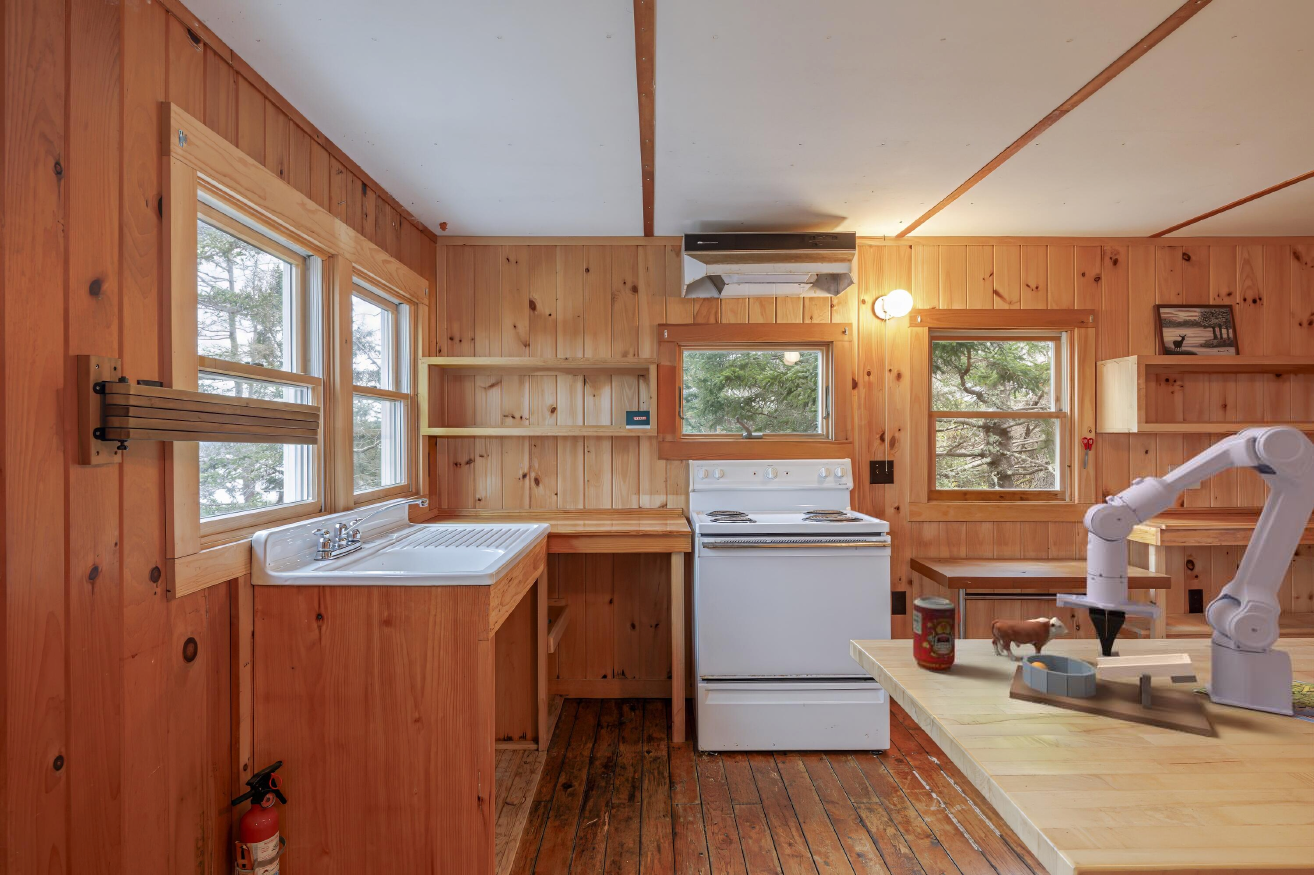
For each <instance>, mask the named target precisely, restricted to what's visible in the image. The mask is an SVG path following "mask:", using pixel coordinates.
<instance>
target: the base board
mask: <svg viewBox="0 0 1314 875" xmlns="http://www.w3.org/2000/svg"><path fill="white" fill-rule="evenodd" d="M1138 680H1139V683H1138V684H1133V683H1128V682H1127V683H1126V682H1121V681H1116V680H1110V679H1100V677H1099V678H1097V677H1096V695H1093V696H1090V697H1086V698H1076V697H1063V696H1058V695H1053V694H1048V693H1045V692H1042V691H1039V690H1036V689H1033V688H1031V687H1029V686H1028V685H1027V684H1025V683H1024V682H1023V664H1022V665H1021V664H1017V666H1016V670H1015V672H1014V675H1013V679H1012V681H1011V682H1012V683H1011V685H1010V689H1009V698H1010V697H1011V699H1014V698H1015V700H1020V701H1025V700H1027V702H1030V701H1032V702H1031V703H1035V702H1036V704H1040V703H1044V704H1043V705H1045V704H1048V705H1047V706H1050V705H1052V706H1051V707H1055V706H1056V707H1055V708H1060V707H1062V708H1061V709H1066V710H1071V711H1076V710H1077V711H1076V712H1080V713H1081V712H1082V713H1086V714H1093V715H1097V716H1101V717H1106V718H1113V719H1117V720H1121V721H1127V722H1133V723H1137V724H1138V723H1139V724H1144V725H1147V726H1152V727H1157V728H1158V727H1159V728H1164V729H1167V728H1170V729H1169V730H1173V729H1174V731H1178V730H1180V732H1183V731H1184V733H1188V732H1190V733H1189V734H1193V733H1194V734H1193V735H1198V734H1199V736H1203V735H1207V736H1206V737H1208V736H1210V737H1209V738H1211V737H1212V728H1211V726H1210V724H1209V721H1208V719H1207V717H1206V714H1205V712H1204V710H1203V708H1202V706H1201V703H1200V701H1199V698H1198V696H1197V695H1196V694H1191V693H1186V692H1181V691H1173V690H1169V689H1162V688H1157V687H1152V677H1151V675H1147V674H1142V677H1139V679H1138Z"/></svg>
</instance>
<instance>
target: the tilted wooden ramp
mask: <svg viewBox="0 0 1314 875" xmlns="http://www.w3.org/2000/svg"><path fill="white" fill-rule="evenodd" d="M1096 662H1097V666H1096V669H1097V672H1098V675H1099V679H1104V680H1107V679H1129V678H1130V679H1131V678H1140V677H1142V674H1147V675H1151V678H1155V677H1156V678H1157V677H1159V678H1160V677H1170V680H1171V683H1172V684H1188V683H1189V684H1190V683H1191V684H1192V683H1198V679H1197V675H1196V672H1195V669H1194V666H1193V663H1192V660H1191V658H1190V656H1189V653H1172V654H1171V653H1169V654H1168V653H1167V654H1150V655H1148V654H1147V655H1129V656H1127V655H1126V656H1120V653H1119V651H1118V650H1117V651H1115V650H1114V651H1112V650H1111V656H1104V655H1102V651H1098V652H1097V657H1096Z"/></svg>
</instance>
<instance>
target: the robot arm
mask: <svg viewBox="0 0 1314 875" xmlns="http://www.w3.org/2000/svg"><path fill="white" fill-rule="evenodd" d="M1242 467H1243V468H1244V467H1250V468H1251V469H1252V470H1254V471H1255V472H1258V475H1260V477H1261V479H1263V481H1264V482H1265V483H1266V484H1267V485H1268V487H1269V488H1270V491H1269V494H1268V497H1267V500H1266V502H1265V504H1264V507H1263V508H1262V512H1261V514H1260V516H1259V518H1258V521H1257V522H1256V523H1257V524H1256V526H1255V528H1254V530H1253V533H1252V535H1251V538H1250V540H1249V543H1248V545H1247V547H1246V550H1245V552H1244V555H1243V557H1242V559H1241V562H1240V564H1239V567H1238V569H1237V571H1236V574H1235V576H1234V577H1233V578H1234V579H1232V581H1230V582H1228V583H1227V584H1226V585H1225V586H1223V587H1222V589H1221V592H1220V594H1218V596H1217V597H1216V598H1215V599H1213V600H1212V601H1210V602H1209V603H1208V605H1207V606H1206V608H1205V620H1206V622H1207V623H1208V624H1209V626H1210V627H1211V628H1212V629H1213V630H1214V631H1213V633H1212V635H1211V636H1210V637H1211V638H1210V639H1211V641H1210V642H1211V643H1210V644H1211V645H1210V646H1211V647H1210V648H1211V650H1210V654H1211V655H1210V657H1211V658H1210V661H1211V662H1210V668H1211V670H1210V677H1211V678H1210V681H1211V682H1210V684H1209V683H1208V684H1207V683H1206V684H1204V689H1205V690H1206V693H1207V695H1208V696H1209V698H1210V700H1211V702H1213V703H1217V704H1223V705H1228V706H1233V707H1240V708H1246V709H1252V710H1257V711H1263V712H1269V713H1274V714H1281V715H1284V716H1285V715H1286V716H1294V711H1293V666H1292V660H1291V656H1290V654H1289V653H1288V652H1287V651H1285V650H1280V649H1275V648H1272V646H1274V644H1276V643H1277V641H1278V639H1279V636H1280V626H1279V617H1280V614H1281V612H1282V611H1281V605H1280V602H1279V601H1280V600H1279V599H1278V598H1279V597H1278V592H1279V590H1280V587H1281V586H1282V583H1283V580H1284V578H1285V576H1286V574H1287V571H1288V569H1289V567H1290V564H1291V562H1292V560H1293V557H1294V555H1295V553H1296V550H1297V548H1298V546H1299V543H1300V541H1301V538H1302V536H1303V533H1304V531H1305V529H1306V527H1307V524H1308V522H1309V520H1310V517H1311V515H1312V513H1313V511H1314V443H1313V441H1311V440H1310V438H1308V436H1307V435H1306V434H1305V433H1303V432H1302V431H1301V430H1300V429H1297V428H1296V427H1293V426H1289V425H1277V426H1270V427H1269V426H1267V427H1266V426H1265V427H1264V426H1263V427H1262V426H1250V427H1247V428H1244V429H1242V430H1240V431H1239V432H1238V433H1236V434H1233V435H1230V436H1228V437H1225V438H1223V439H1221V440H1220V441H1218V442H1217V443H1215V444H1214V445H1211V446H1210V447H1209V448H1207V449H1205V450H1204V451H1203V452H1201V453H1199V454H1198V455H1196V456H1194V457H1193V458H1191V459H1189V460H1188V461H1186V462H1185V463H1183V464H1181V466H1179V467H1177V468H1175V469H1174V470H1172V471H1171V472H1170V473H1167V474H1165V476H1162V477H1160V478H1159V477H1155V476H1147V477H1145V478H1140V477H1137V478H1135V479H1134V480H1132V481H1131V483H1132V484H1133V485H1132V486H1130V487H1127V488H1126V489H1124V490H1123V491H1121V492H1119V493H1118V494H1116V495H1114V496H1113V495H1109V496H1106V498H1105V500H1106V502H1107V503H1097V504H1094V505H1092V506H1090V508H1088V509H1087V511H1086V513H1085V515H1084V517H1083V518H1082V522H1083V525H1084V527H1085V528H1086V530H1087V531H1088V532H1087V546H1086V595H1083V594H1065V593H1056V607H1058V608H1064V607H1065V608H1073V609H1080V610H1088V616H1089V618H1090V621H1091V623H1092V625H1093V627H1094V630H1095V631H1096V634H1097V637H1098V640H1099V644H1100V647H1101V652H1102V655H1104V656H1111V651H1112V649H1113V646H1114V643H1115V640H1116V637H1117V636H1118V634H1119V632H1120V630H1121V628H1122V627H1123V625H1124V624H1125V622H1126V615H1129V616H1134V617H1135V616H1137V617H1145V618H1151V619H1153V620H1154V619H1155V620H1161V619H1162V607H1161V605H1157V604H1151V603H1145V602H1138V601H1133V600H1128V590H1129V589H1128V587H1129V585H1128V579H1129V578H1128V576H1129V575H1128V573H1129V572H1128V568H1129V567H1128V566H1129V563H1128V560H1129V559H1128V554H1129V552H1128V551H1129V550H1128V537H1129V536H1130V535H1131V534H1132V533H1133V531H1134V527H1135V526H1140V525H1141V524H1144V523H1145V522H1146V521H1149V520H1150V519H1152V518H1154V517H1155V516H1157V515H1159V514H1161V513H1162V512H1164V511H1166V510H1168V509H1170V508H1171V507H1173V506H1174V505H1175V504H1176V500H1177V497H1178V494H1180V493H1181V492H1184V491H1185V490H1187V489H1189V488H1192V487H1193V486H1194V485H1197V484H1199V483H1201V482H1203V481H1205V480H1207V479H1209V478H1211V477H1213V476H1216V475H1217V474H1219V473H1221V472H1222V471H1225V470H1227V469H1229V468H1242Z"/></svg>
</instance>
